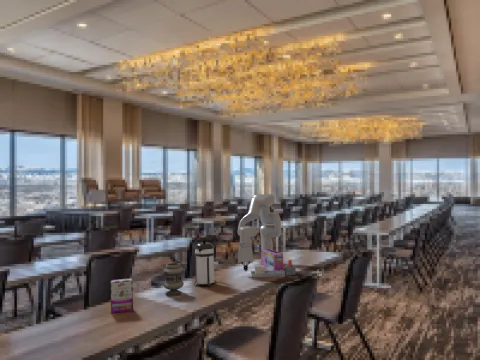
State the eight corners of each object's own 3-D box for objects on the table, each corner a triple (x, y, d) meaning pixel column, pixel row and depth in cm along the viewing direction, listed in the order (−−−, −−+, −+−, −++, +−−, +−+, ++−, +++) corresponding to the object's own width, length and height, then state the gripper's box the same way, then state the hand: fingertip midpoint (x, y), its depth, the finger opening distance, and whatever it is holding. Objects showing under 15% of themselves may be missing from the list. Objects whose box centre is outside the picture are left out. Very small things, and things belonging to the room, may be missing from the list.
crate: (255, 274, 285) (254, 265, 285) (264, 274, 285) (263, 264, 285) (255, 276, 278) (255, 266, 278) (265, 276, 279) (264, 266, 279)
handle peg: (287, 273, 287) (287, 259, 287) (291, 273, 287) (291, 259, 287) (287, 274, 284) (287, 260, 284) (292, 274, 284) (292, 260, 284)
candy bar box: (133, 308, 212) (132, 277, 212) (133, 311, 207) (132, 280, 207) (111, 310, 209) (110, 279, 209) (110, 313, 204) (110, 281, 204)
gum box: (260, 266, 313) (259, 249, 313) (268, 265, 316) (268, 248, 316) (274, 272, 291) (274, 254, 291) (283, 271, 294) (283, 253, 294)
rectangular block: (251, 274, 287) (251, 270, 287) (282, 273, 288) (282, 269, 288) (252, 277, 277) (252, 273, 277) (285, 276, 278) (284, 272, 278)
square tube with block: (283, 271, 294) (283, 263, 294) (292, 271, 294) (292, 263, 294) (285, 275, 282) (285, 266, 282) (295, 274, 282) (295, 266, 282)
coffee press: (220, 285, 256) (220, 239, 257) (197, 288, 250) (196, 241, 251) (212, 279, 272) (212, 236, 273) (190, 282, 267) (189, 237, 267)
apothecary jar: (159, 295, 237) (159, 265, 237) (171, 290, 248) (170, 261, 248) (176, 297, 232) (176, 266, 232) (187, 292, 243) (187, 262, 243)
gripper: (235, 246, 278) (235, 272, 277) (256, 245, 278) (256, 271, 278) (234, 244, 285) (235, 270, 285) (255, 244, 286) (255, 269, 285)
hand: (245, 270), depth 281 cm, fingers closed
